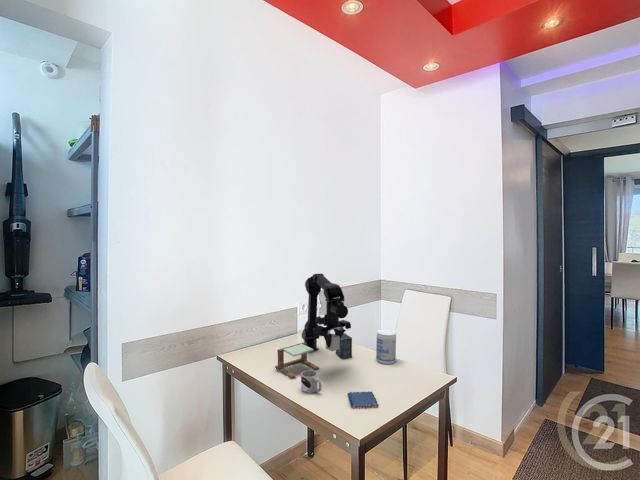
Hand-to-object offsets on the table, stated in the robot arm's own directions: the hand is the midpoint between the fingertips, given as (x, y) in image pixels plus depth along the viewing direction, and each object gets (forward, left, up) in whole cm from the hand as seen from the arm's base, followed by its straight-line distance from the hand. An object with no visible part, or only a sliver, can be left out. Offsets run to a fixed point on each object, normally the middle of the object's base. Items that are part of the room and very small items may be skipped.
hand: (332, 346), depth 152 cm
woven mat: (+8, +26, -13) cm, 30 cm away
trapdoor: (+11, -12, -3) cm, 17 cm away
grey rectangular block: (0, 0, -1) cm, 1 cm away
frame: (+11, -13, -12) cm, 21 cm away
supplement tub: (-29, +7, -13) cm, 33 cm away
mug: (+18, +7, -13) cm, 23 cm away
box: (-17, -11, -13) cm, 24 cm away
